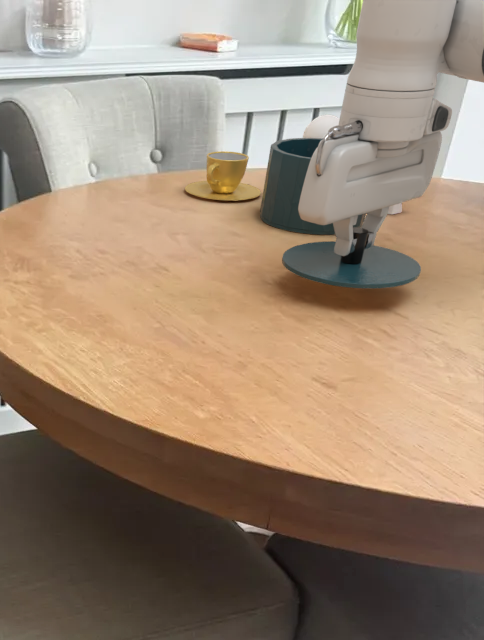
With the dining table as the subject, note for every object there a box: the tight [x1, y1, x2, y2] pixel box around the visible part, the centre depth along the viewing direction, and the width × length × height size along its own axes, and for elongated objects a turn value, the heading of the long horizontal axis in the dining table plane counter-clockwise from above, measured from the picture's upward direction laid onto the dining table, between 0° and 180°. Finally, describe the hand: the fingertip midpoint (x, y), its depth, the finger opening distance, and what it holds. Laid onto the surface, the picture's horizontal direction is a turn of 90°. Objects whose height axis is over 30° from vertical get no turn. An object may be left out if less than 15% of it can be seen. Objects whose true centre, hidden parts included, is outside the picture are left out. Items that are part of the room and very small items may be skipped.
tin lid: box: [281, 227, 422, 290], centre depth 101 cm, size 16×16×5 cm
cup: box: [184, 150, 262, 201], centre depth 137 cm, size 12×12×5 cm
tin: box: [259, 137, 367, 236], centre depth 125 cm, size 15×15×10 cm
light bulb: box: [302, 114, 340, 139], centre depth 137 cm, size 7×7×11 cm
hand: (353, 250), depth 101 cm, fingers closed on tin lid, 2 cm apart
